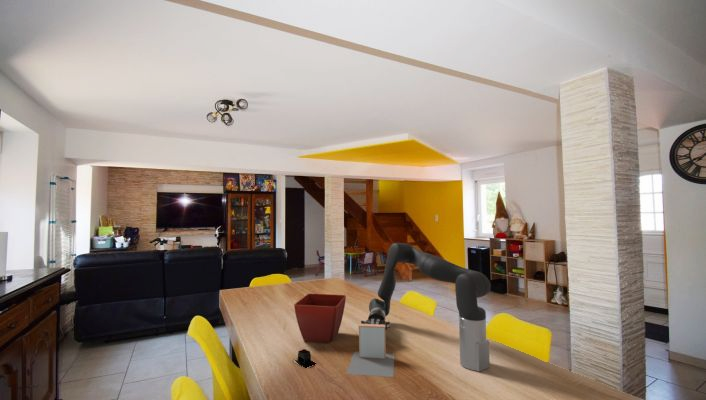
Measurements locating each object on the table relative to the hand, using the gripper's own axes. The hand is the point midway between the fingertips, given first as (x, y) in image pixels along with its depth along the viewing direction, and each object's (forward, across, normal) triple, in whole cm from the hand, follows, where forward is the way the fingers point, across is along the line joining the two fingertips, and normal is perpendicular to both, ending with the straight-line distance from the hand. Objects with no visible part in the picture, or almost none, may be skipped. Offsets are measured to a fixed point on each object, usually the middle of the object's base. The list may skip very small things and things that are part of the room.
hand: (373, 331), depth 129 cm
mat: (+11, 0, +8) cm, 13 cm away
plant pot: (-13, -25, +8) cm, 29 cm away
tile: (+6, 0, +7) cm, 9 cm away
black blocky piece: (+12, -25, +9) cm, 29 cm away
